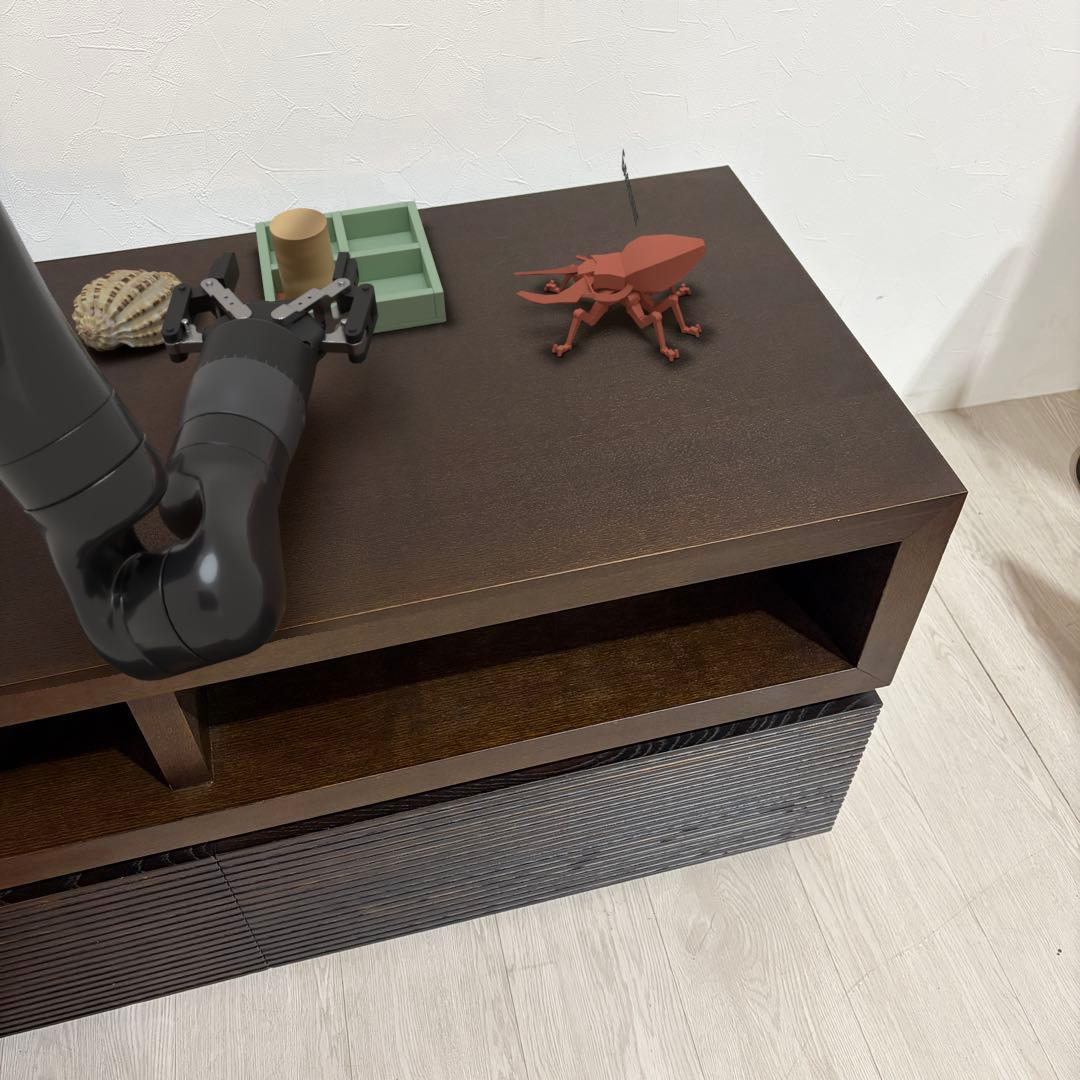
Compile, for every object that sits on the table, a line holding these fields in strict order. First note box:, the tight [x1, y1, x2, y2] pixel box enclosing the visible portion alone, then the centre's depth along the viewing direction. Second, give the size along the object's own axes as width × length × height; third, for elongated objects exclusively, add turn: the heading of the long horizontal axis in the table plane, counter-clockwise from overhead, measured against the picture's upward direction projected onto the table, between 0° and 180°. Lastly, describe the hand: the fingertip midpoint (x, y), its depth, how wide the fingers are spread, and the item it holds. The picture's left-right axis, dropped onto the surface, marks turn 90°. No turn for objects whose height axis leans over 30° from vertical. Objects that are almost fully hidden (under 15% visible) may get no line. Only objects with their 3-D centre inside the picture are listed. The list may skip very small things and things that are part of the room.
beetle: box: [513, 148, 707, 362], centre depth 86 cm, size 15×12×13 cm
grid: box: [254, 200, 447, 334], centre depth 92 cm, size 14×14×3 cm
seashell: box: [71, 268, 183, 352], centre depth 88 cm, size 8×6×10 cm
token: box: [269, 207, 336, 303], centre depth 87 cm, size 4×4×8 cm
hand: (289, 261), depth 82 cm, fingers open, 8 cm apart
